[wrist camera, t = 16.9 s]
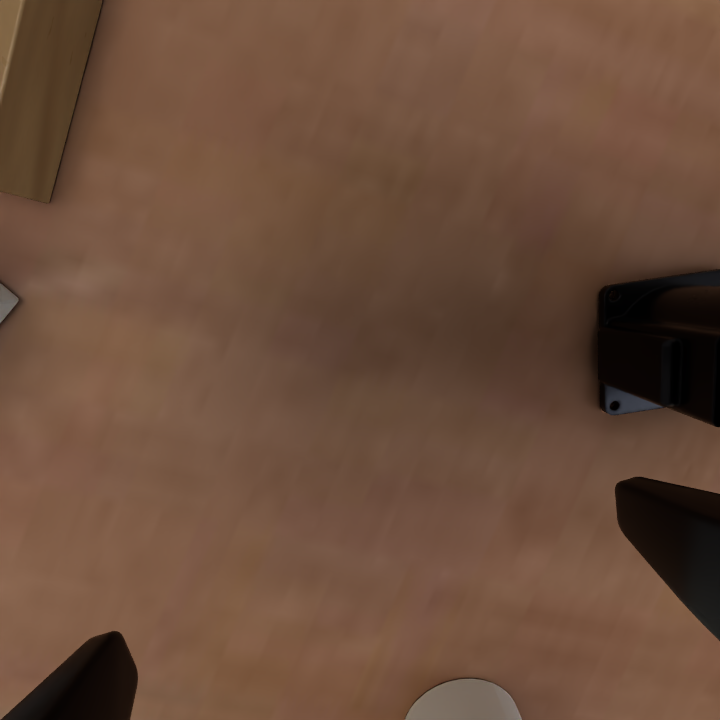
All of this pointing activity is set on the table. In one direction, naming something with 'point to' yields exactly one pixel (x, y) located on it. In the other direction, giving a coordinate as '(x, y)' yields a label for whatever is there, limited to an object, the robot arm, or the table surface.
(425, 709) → the cylindrical container
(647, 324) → the robot arm
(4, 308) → the cosmetic box
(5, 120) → the wooden tray frame
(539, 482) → the table surface
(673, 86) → the table surface
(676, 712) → the table surface
